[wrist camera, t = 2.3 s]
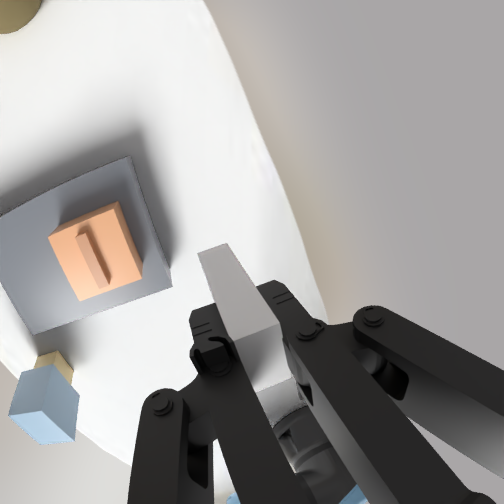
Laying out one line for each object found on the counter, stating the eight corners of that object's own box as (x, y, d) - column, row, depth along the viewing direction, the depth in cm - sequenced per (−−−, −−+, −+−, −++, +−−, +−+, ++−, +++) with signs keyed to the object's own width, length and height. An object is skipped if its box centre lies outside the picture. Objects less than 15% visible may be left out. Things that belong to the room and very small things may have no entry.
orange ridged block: (118, 200, 23) (112, 211, 20) (143, 264, 26) (141, 283, 23) (58, 226, 22) (44, 240, 19) (85, 285, 25) (77, 306, 22)
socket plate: (130, 155, 26) (125, 157, 22) (170, 269, 31) (172, 286, 28) (-7, 220, 22) (-23, 231, 19) (41, 315, 28) (32, 335, 25)
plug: (82, 374, 33) (74, 441, 23) (52, 382, 32) (40, 444, 22) (59, 343, 30) (41, 410, 20) (29, 352, 29) (8, 415, 19)
